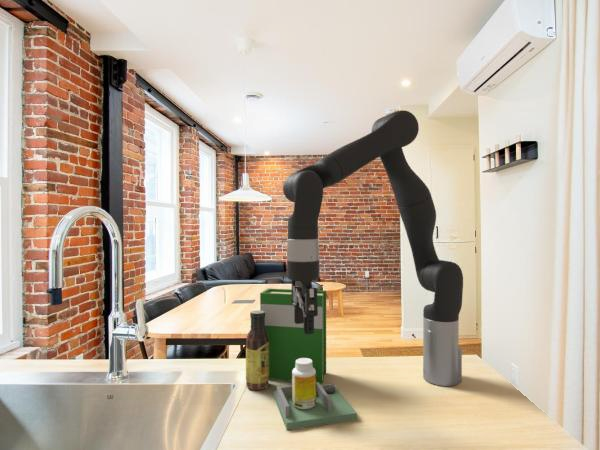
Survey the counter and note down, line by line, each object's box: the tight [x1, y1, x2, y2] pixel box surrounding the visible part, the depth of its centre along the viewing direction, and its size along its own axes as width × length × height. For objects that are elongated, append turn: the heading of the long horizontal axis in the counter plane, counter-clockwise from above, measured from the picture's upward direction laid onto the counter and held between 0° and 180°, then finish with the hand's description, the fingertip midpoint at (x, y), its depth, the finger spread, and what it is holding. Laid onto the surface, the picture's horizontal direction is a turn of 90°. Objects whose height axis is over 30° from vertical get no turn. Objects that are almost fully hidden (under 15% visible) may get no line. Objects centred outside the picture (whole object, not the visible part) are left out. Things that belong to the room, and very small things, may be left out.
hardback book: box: [259, 288, 327, 385], centre depth 106 cm, size 18×7×24 cm, turn 78°
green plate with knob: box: [273, 382, 358, 431], centre depth 88 cm, size 16×15×4 cm
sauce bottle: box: [245, 309, 270, 391], centre depth 99 cm, size 7×6×20 cm
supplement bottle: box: [291, 358, 316, 409], centre depth 86 cm, size 6×6×10 cm
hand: (303, 328), depth 86 cm, fingers open, 8 cm apart
